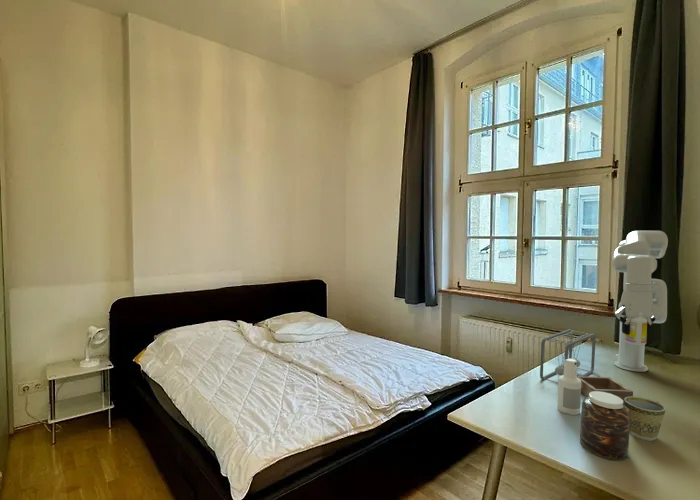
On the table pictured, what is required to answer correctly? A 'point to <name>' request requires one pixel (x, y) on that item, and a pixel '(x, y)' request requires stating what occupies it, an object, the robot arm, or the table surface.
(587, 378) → the box
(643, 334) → the supplement bottle
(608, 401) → the jar
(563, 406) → the spray bottle
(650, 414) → the ceramic cup
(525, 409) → the table surface
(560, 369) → the newton's cradle
